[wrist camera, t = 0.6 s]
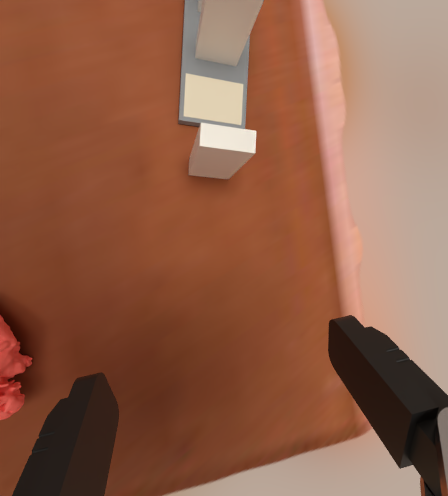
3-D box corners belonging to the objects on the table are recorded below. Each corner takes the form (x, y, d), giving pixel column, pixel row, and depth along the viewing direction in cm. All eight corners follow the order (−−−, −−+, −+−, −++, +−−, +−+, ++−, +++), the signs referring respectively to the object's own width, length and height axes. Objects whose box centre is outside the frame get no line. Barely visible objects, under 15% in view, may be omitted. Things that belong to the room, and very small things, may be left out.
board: (242, 133, 35) (245, 129, 34) (178, 123, 33) (178, 119, 32) (253, -89, 35) (256, -99, 34) (190, -110, 33) (191, -122, 32)
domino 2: (228, 179, 34) (255, 153, 25) (188, 175, 33) (199, 145, 23) (229, 163, 34) (256, 130, 25) (189, 158, 33) (200, 122, 23)
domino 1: (236, 66, 33) (267, -8, 24) (195, 58, 32) (209, -23, 22) (237, 50, 33) (268, -31, 24) (195, 40, 32) (211, -48, 22)
